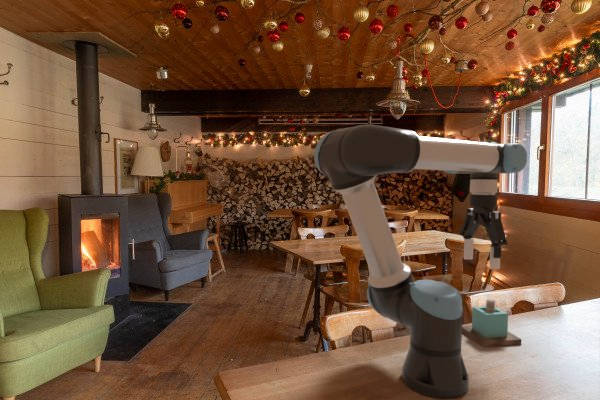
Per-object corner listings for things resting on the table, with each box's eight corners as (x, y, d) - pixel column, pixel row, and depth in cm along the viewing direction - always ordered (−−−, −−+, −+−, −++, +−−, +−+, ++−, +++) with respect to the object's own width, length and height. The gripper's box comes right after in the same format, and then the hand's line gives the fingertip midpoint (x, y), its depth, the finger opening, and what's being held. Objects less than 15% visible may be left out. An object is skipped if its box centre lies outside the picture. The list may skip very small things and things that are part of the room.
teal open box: (485, 337, 116) (486, 314, 115) (472, 328, 123) (472, 306, 122) (507, 336, 117) (508, 313, 116) (492, 327, 124) (493, 305, 123)
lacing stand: (483, 347, 113) (484, 308, 112) (460, 330, 125) (461, 295, 124) (521, 344, 115) (522, 305, 114) (494, 328, 127) (495, 293, 126)
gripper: (523, 195, 106) (520, 273, 107) (471, 192, 131) (469, 255, 132) (497, 195, 105) (494, 273, 106) (450, 192, 130) (448, 255, 131)
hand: (480, 263), depth 119 cm, fingers open, 13 cm apart
